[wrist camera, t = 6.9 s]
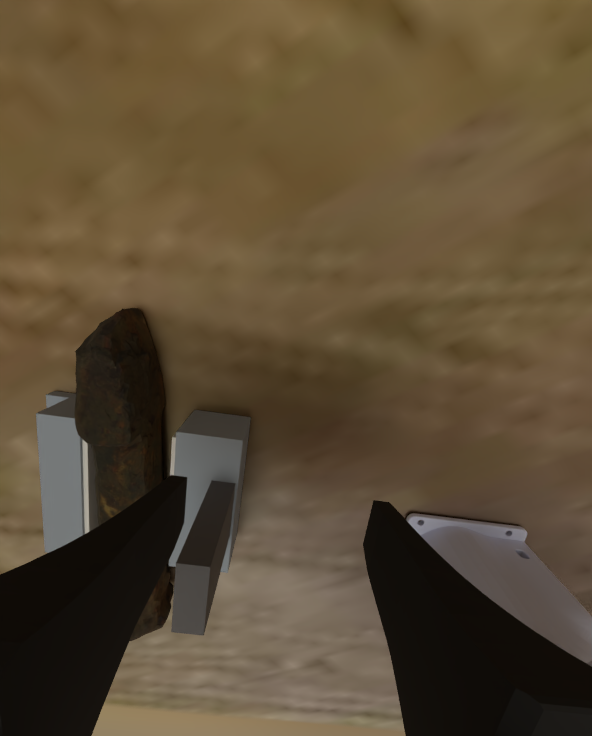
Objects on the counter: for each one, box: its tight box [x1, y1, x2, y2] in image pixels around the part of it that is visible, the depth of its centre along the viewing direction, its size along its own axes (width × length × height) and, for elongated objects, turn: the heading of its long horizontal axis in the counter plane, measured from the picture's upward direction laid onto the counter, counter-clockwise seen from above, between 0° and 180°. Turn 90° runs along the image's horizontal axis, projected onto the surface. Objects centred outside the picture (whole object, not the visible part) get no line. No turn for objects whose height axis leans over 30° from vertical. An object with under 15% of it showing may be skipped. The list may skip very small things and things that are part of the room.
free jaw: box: [169, 410, 251, 635], centre depth 18 cm, size 4×10×10 cm, turn 172°
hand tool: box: [74, 308, 173, 641], centre depth 20 cm, size 23×5×6 cm, turn 173°
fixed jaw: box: [36, 391, 99, 552], centre depth 21 cm, size 4×10×4 cm, turn 172°
